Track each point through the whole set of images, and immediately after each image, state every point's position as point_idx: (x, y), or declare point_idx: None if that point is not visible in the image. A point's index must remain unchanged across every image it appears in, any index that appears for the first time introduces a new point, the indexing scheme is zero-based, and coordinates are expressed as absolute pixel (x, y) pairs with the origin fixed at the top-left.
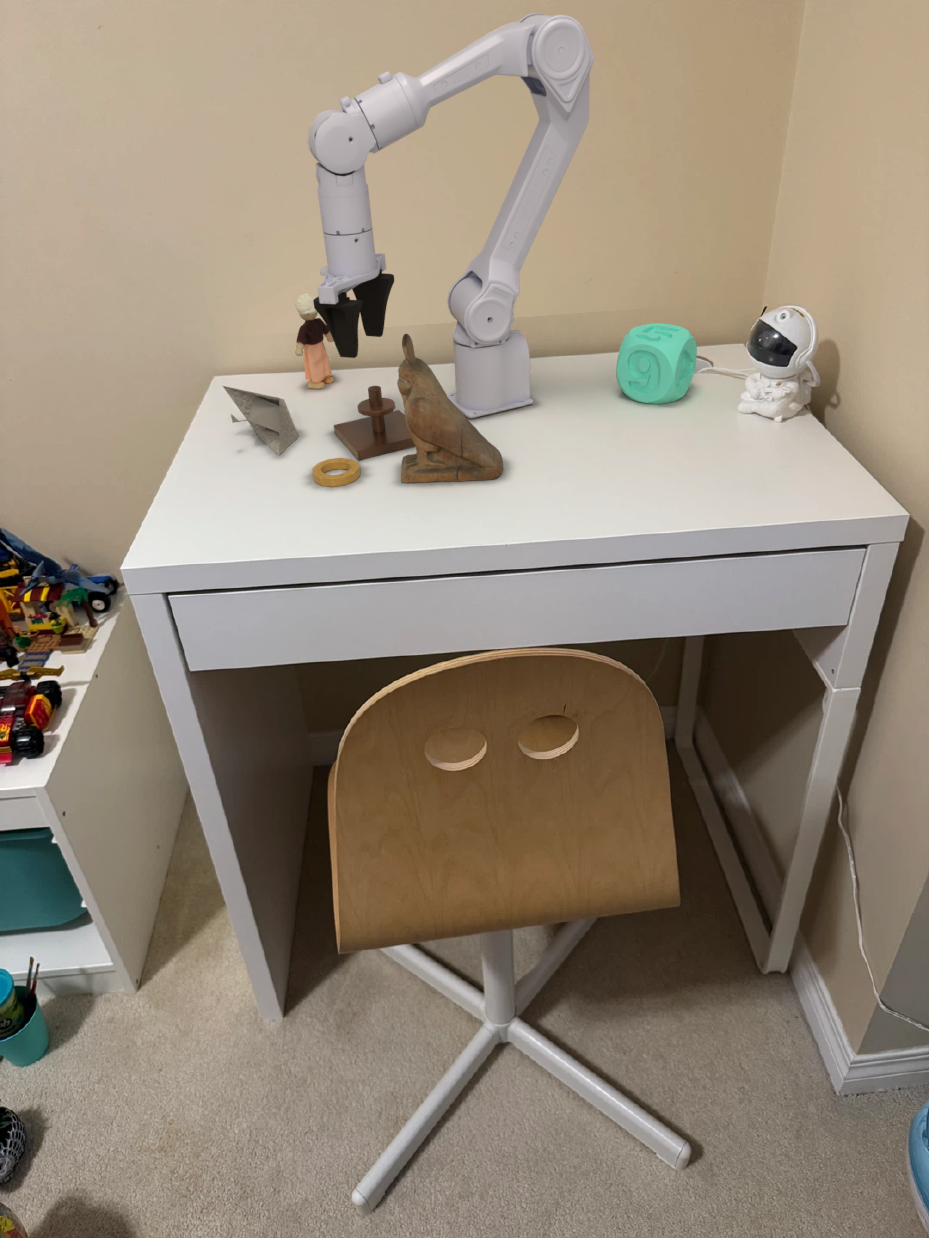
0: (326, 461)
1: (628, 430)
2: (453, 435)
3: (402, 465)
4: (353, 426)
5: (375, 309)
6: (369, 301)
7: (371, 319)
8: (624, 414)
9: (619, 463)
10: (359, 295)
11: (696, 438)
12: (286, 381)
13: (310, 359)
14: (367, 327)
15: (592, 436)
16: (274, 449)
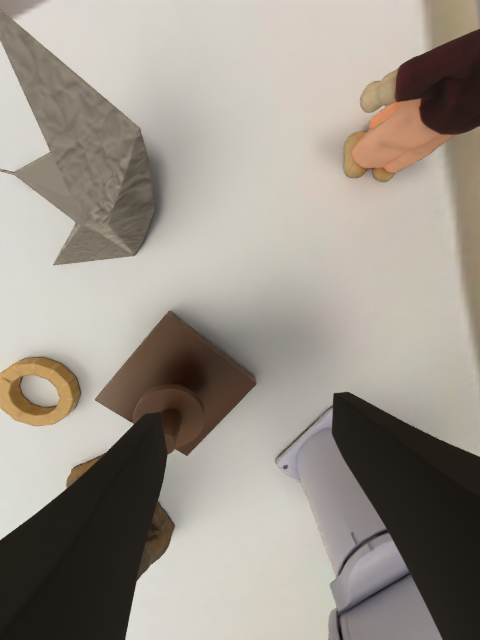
0: (45, 372)
1: (290, 591)
2: None
3: (76, 479)
4: (172, 349)
5: (393, 505)
6: (422, 525)
7: (364, 454)
8: (328, 577)
9: (214, 608)
10: (459, 515)
11: (286, 633)
12: (375, 58)
13: (385, 128)
14: (347, 418)
15: (267, 573)
16: (67, 242)
